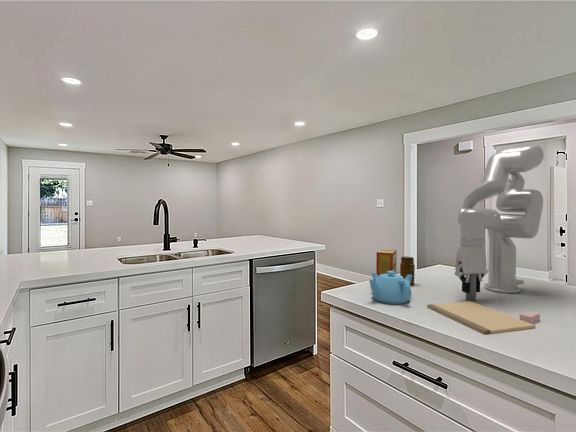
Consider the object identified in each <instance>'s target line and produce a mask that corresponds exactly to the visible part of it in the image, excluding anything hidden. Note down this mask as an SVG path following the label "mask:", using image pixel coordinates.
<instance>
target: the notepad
mask: <svg viewBox="0 0 576 432" xmlns="http://www.w3.org/2000/svg"><path fill="white" fill-rule="evenodd" d="M426 306H427V307H426V308H428V309H430V310H432V311H434V312H436V313H439V314H440V315H442V316H444V317H447V318H449V319H450V320H453V321H455V322H457V323H459V324H462V325H464V326H466V327H468V328H470V329H472V330H474V331H475V332H476V331H477V332H478V333H481V334H483V335H489V334H491V335H492V334H498V333H506V332H513V331H523V330H529V329H536V324H534V323H533V324H531V323H528V322H525V321H523V320H520V318H517V317H515V316H512V315H509V314H506V313H504V312H500V311H498V310H495V309H494V308H491V307H490V308H489V307H487V306H485V305H482V304H478V302H477V303H476V302H472V301H467V300H465V301H457V302H446V303H434V304H433V303H430V304H426Z"/></svg>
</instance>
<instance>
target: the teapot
mask: <svg viewBox="0 0 576 432" xmlns="http://www.w3.org/2000/svg"><path fill="white" fill-rule="evenodd" d="M387 273H388V274H381V275H380V276H378V275H377V273H376V272H372V273H371V275H372V279H369V284H370V290H371V295H372V297H373V298H374V299H375V300H376V301H377V302H380V303H382V302H383V303H384V304H387V303H388V304H387V305H402V304H406V303H407V302H409V300H410V299H411V295H412V289H411V288H412V287H411V286H410V284H411V279H412V275H407V276H406V278H405V279H404V278H403V277H402V276H401V275H400V274H397V273H396V274H395V272H394V271H387Z"/></svg>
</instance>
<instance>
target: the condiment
mask: <svg viewBox="0 0 576 432" xmlns="http://www.w3.org/2000/svg"><path fill="white" fill-rule="evenodd" d="M414 262H415V260H414V257H412V256H401V258H400V265H399V266H400V267H399V275H401V276H402V277H403V278H404V279H405V278H406V276H407V275H412V279H411V284H410V287H420V286H422V285H420V284H418V283H415V275H416V274H415V272H416V271H415V269H416V268H415V263H414Z"/></svg>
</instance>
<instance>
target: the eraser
mask: <svg viewBox="0 0 576 432" xmlns="http://www.w3.org/2000/svg"><path fill="white" fill-rule="evenodd" d="M519 319H520V320H523V321H525V322H528V323H531V324H533V325H534V324H535V323H537V322H539V321H540V319H541V313H539V312H536V311H531V310H527V311H524V312H522V313H520V314H519Z"/></svg>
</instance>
